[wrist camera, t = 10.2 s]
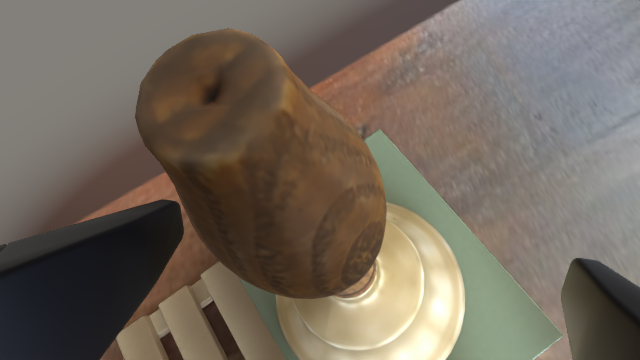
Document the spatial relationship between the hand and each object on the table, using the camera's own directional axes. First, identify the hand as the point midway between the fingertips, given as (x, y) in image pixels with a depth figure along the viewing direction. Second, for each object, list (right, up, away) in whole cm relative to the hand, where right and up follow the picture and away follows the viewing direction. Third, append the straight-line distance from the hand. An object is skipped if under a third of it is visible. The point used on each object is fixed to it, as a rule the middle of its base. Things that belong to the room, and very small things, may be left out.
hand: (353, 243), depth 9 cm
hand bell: (+1, -4, +9) cm, 10 cm away
